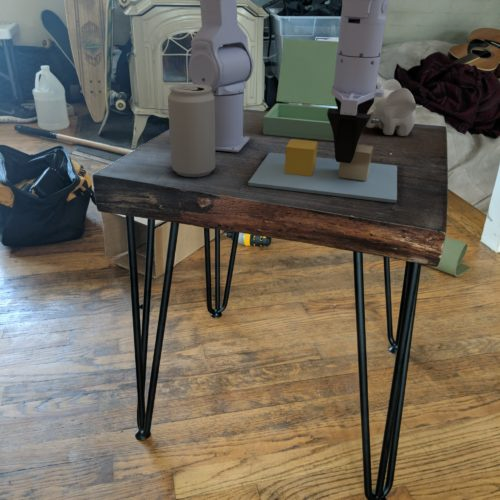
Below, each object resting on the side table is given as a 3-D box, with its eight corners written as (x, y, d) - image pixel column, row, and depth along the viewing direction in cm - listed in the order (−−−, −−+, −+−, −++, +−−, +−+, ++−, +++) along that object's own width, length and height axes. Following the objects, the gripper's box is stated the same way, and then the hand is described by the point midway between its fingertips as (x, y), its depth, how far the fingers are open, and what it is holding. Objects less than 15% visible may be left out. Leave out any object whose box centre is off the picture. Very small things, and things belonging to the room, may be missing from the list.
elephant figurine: (350, 124, 102) (356, 77, 97) (411, 125, 101) (419, 79, 97) (358, 137, 93) (364, 87, 89) (424, 139, 93) (434, 89, 89)
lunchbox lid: (353, 42, 97) (353, 46, 100) (283, 38, 100) (286, 42, 103) (344, 106, 98) (345, 109, 101) (276, 100, 101) (278, 103, 104)
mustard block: (284, 173, 74) (285, 146, 72) (289, 164, 78) (290, 138, 76) (311, 176, 73) (314, 149, 72) (315, 167, 77) (317, 141, 75)
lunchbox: (336, 141, 91) (338, 123, 89) (262, 134, 93) (263, 116, 92) (342, 125, 100) (344, 108, 99) (275, 119, 103) (276, 103, 102)
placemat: (247, 185, 71) (247, 182, 71) (269, 155, 83) (269, 152, 83) (396, 203, 67) (397, 199, 67) (396, 168, 79) (397, 165, 79)
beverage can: (208, 180, 72) (207, 93, 66) (165, 176, 73) (160, 90, 68) (220, 166, 78) (220, 84, 72) (179, 162, 79) (176, 81, 73)
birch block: (337, 177, 73) (341, 149, 71) (342, 169, 76) (345, 142, 75) (366, 181, 72) (370, 153, 70) (369, 173, 75) (373, 146, 74)
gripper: (388, 65, 61) (371, 173, 68) (390, 49, 74) (376, 142, 80) (329, 60, 63) (318, 167, 69) (340, 46, 75) (330, 137, 82)
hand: (346, 153), depth 75 cm, fingers open, 7 cm apart
